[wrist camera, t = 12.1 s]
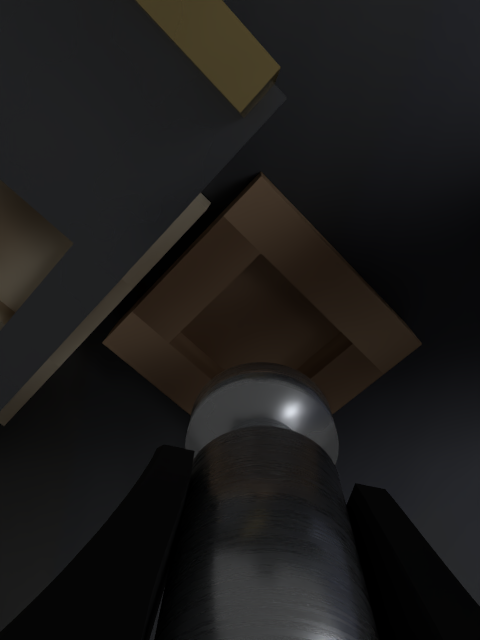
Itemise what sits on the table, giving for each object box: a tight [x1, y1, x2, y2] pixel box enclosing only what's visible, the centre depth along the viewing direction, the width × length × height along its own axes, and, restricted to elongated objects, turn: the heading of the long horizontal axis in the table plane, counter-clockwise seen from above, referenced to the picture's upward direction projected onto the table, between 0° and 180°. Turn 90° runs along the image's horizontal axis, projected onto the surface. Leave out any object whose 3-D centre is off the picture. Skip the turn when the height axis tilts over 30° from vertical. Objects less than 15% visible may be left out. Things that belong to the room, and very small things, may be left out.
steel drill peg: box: [154, 362, 379, 640], centre depth 8 cm, size 4×4×7 cm
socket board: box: [0, 180, 211, 426], centre depth 16 cm, size 9×12×2 cm
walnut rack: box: [102, 172, 422, 415], centre depth 17 cm, size 8×8×2 cm
